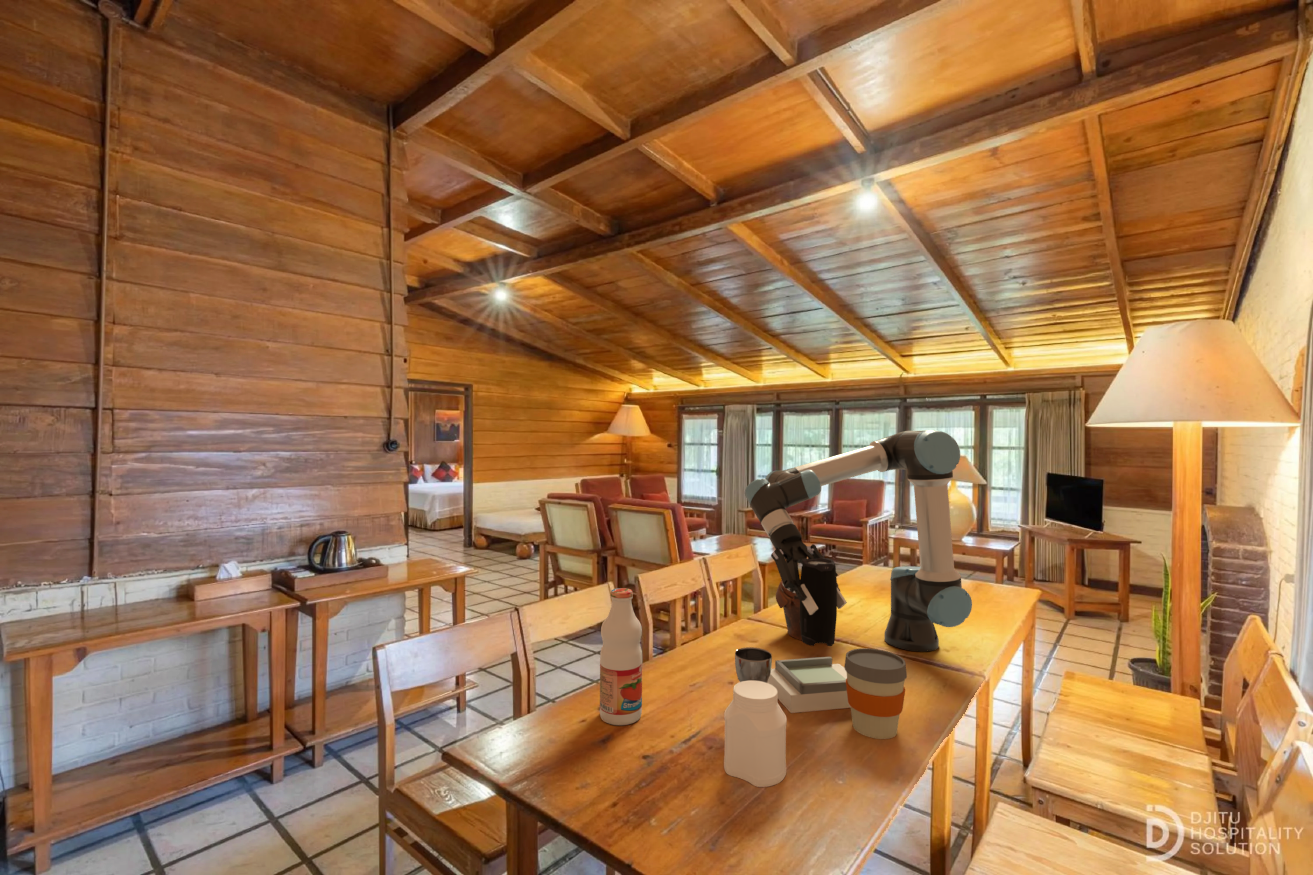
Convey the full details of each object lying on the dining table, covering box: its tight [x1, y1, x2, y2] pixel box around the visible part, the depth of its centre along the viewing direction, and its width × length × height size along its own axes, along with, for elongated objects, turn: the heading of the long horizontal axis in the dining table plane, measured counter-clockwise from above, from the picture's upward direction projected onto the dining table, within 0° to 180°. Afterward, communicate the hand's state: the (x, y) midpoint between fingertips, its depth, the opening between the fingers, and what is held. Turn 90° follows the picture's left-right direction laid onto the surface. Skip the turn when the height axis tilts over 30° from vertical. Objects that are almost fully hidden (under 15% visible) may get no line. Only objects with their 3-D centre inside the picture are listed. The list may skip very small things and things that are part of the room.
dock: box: [767, 656, 851, 714], centre depth 141 cm, size 25×15×6 cm, turn 101°
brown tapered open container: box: [775, 579, 840, 641], centre depth 184 cm, size 18×20×18 cm
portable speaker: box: [800, 557, 838, 647], centre depth 140 cm, size 9×9×20 cm
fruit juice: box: [599, 587, 643, 726], centre depth 130 cm, size 9×9×28 cm
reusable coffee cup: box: [843, 648, 908, 740], centre depth 125 cm, size 13×13×15 cm
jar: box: [723, 680, 788, 788], centre depth 109 cm, size 12×10×15 cm
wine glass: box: [734, 646, 773, 683], centre depth 127 cm, size 8×8×15 cm
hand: (828, 608), depth 137 cm, fingers closed on portable speaker, 9 cm apart
